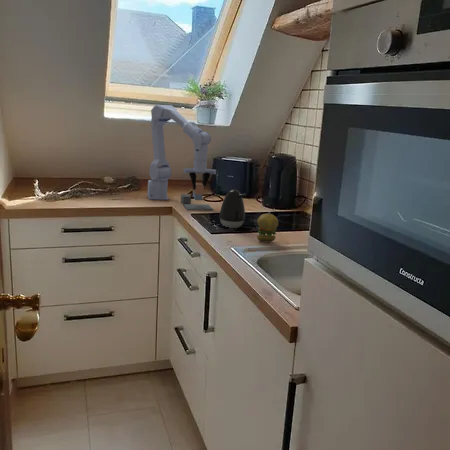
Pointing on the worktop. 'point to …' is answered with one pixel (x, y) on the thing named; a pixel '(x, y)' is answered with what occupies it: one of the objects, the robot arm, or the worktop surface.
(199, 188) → the terracotta brick
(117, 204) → the worktop surface
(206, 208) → the slate mat
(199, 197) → the dusty-blue brick
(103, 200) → the worktop surface
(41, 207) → the worktop surface
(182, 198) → the charcoal brick
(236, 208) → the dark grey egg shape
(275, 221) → the hamburger
